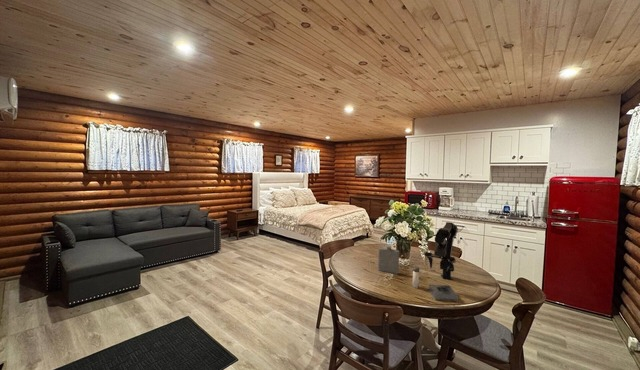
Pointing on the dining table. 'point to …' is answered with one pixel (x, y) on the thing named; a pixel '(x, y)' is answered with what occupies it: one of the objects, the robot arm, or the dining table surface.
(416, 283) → the plug
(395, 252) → the hip flask
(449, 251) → the robot arm
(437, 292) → the gray rectangular frame
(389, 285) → the dining table surface
